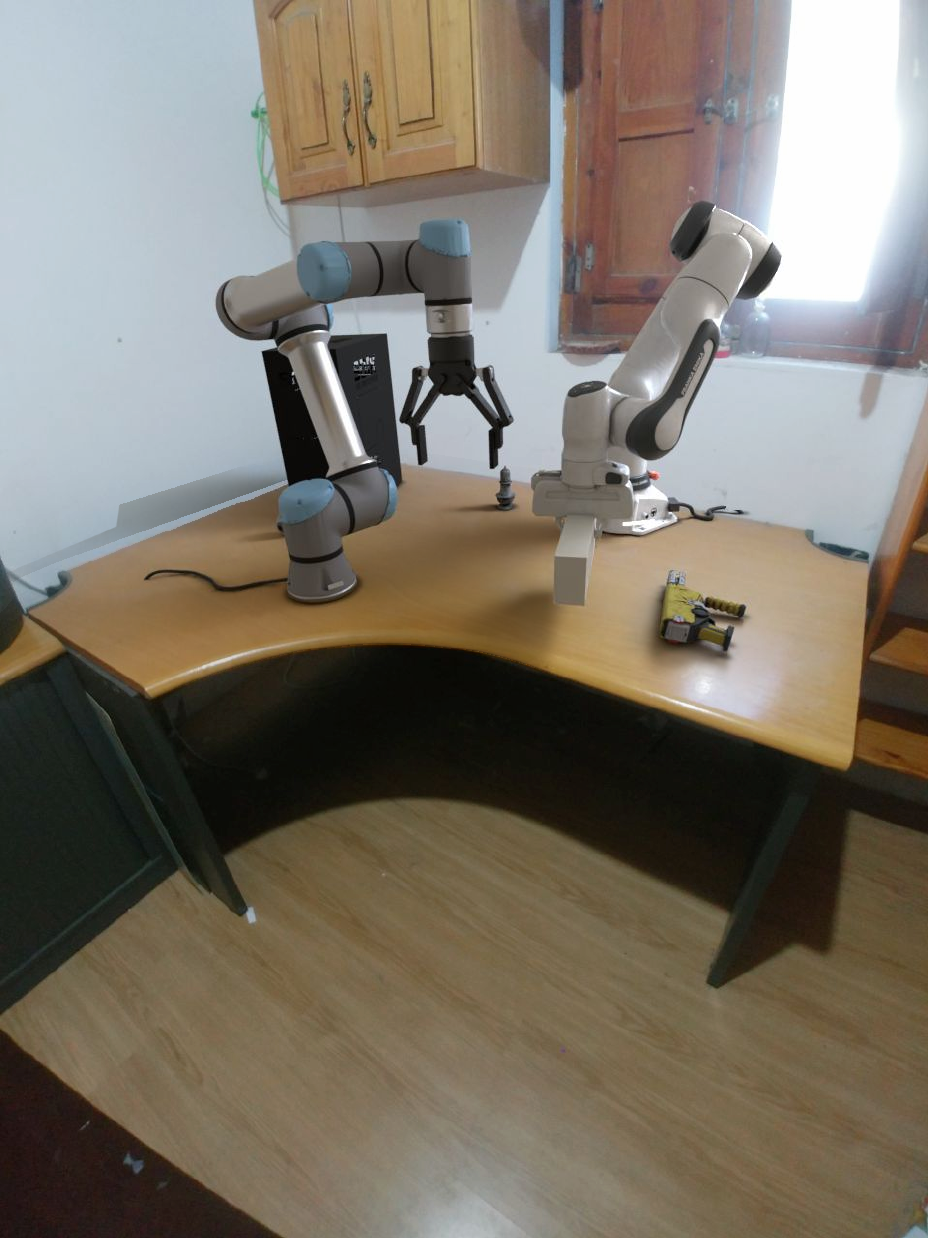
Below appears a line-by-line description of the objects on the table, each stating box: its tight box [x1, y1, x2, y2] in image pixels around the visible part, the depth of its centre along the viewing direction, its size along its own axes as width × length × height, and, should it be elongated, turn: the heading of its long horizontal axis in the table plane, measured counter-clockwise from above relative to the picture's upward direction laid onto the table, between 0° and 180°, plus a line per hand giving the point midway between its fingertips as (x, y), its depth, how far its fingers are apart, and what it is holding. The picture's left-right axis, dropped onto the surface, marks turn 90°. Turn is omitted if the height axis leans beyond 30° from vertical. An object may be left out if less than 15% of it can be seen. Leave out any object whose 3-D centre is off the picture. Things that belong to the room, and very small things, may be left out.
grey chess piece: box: [495, 465, 517, 511], centre depth 172 cm, size 6×6×12 cm
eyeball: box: [275, 515, 284, 535], centre depth 163 cm, size 6×6×6 cm
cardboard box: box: [260, 333, 403, 488], centre depth 177 cm, size 38×20×45 cm, turn 167°
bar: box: [552, 515, 596, 607], centre depth 117 cm, size 25×6×10 cm, turn 165°
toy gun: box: [659, 569, 747, 652], centre depth 114 cm, size 5×24×15 cm
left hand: (457, 465), depth 108 cm, fingers open, 13 cm apart
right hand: (581, 536), depth 125 cm, fingers closed on bar, 5 cm apart
